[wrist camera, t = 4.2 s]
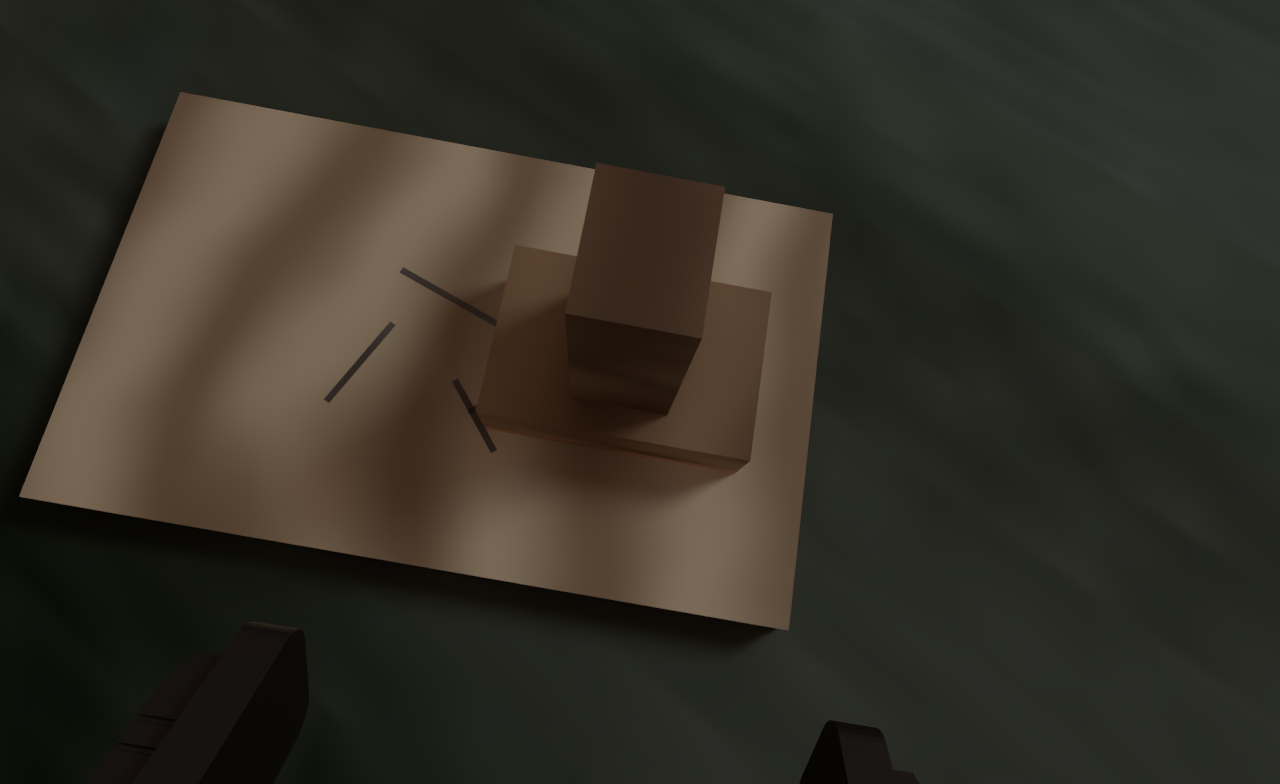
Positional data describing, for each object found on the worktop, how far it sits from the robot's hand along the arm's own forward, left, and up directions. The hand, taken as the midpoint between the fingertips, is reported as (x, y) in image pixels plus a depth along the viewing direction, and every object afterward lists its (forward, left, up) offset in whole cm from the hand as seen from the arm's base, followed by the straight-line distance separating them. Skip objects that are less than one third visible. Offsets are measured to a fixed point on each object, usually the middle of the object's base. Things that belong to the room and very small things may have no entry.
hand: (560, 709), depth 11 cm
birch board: (+10, -6, -15) cm, 19 cm away
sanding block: (+5, -9, -14) cm, 17 cm away
